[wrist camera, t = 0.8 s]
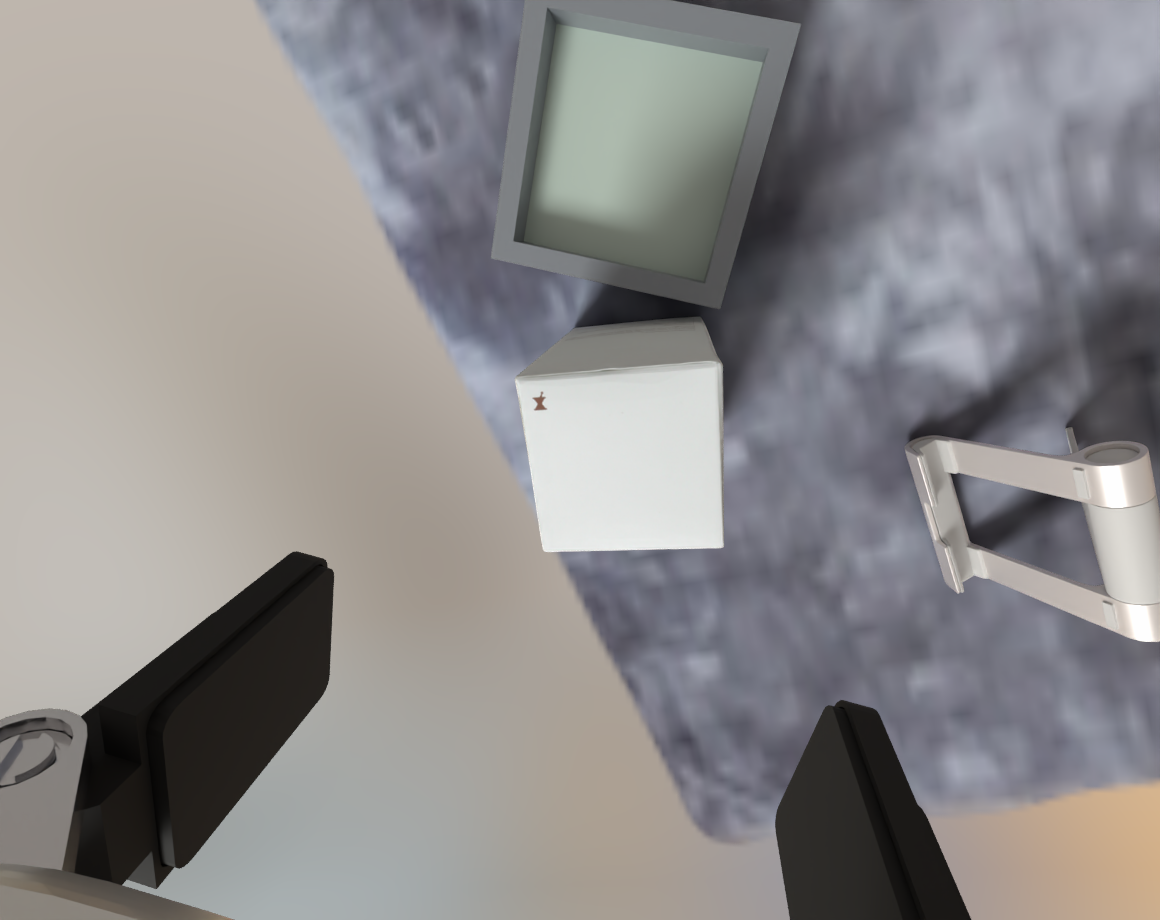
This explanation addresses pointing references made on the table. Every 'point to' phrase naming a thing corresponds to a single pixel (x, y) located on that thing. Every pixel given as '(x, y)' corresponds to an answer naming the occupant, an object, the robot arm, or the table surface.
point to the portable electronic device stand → (1092, 476)
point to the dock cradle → (638, 141)
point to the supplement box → (627, 437)
